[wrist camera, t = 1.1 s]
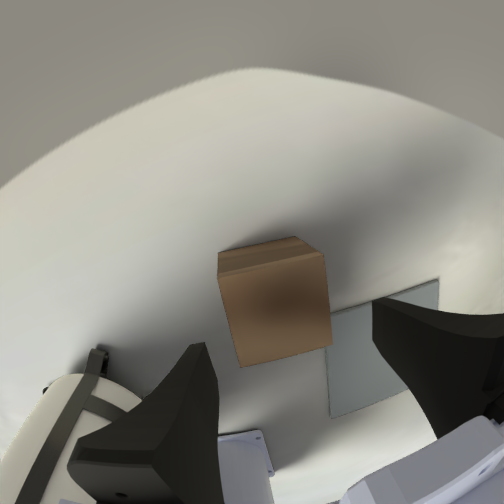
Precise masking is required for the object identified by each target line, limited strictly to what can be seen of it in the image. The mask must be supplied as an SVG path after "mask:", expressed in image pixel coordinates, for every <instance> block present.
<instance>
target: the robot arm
mask: <svg viewBox="0 0 504 504" xmlns="http://www.w3.org/2000/svg"><path fill="white" fill-rule="evenodd" d="M372 341H373V342H374V344H375V346H376V348H377V349H378V351H379V352H380V354H381V356H382V357H383V358H384V359H385V361H386V362H387V363H388V364H389V365H390V367H391V368H392V369H393V370H394V371H395V373H396V374H397V375H398V376H399V377H400V378H401V380H402V381H403V382H404V383H405V384H406V386H407V387H408V388H409V389H410V391H411V392H412V394H413V395H414V397H415V398H416V400H417V401H418V403H419V405H420V406H421V408H422V410H423V412H424V413H425V415H426V417H427V419H428V421H429V423H430V424H431V427H432V429H433V431H434V433H435V435H436V437H437V439H438V440H436V441H435V442H433V443H431V444H429V445H428V446H426V447H424V448H422V449H420V450H418V451H416V452H414V453H412V454H410V455H408V456H406V457H404V458H402V459H400V460H398V461H396V462H394V463H391V464H389V465H387V466H385V467H383V468H381V469H379V470H377V471H375V472H373V473H371V474H369V475H367V476H365V477H364V478H362V479H361V480H360V481H358V482H357V483H356V484H354V485H353V486H351V487H350V488H349V489H348V490H347V492H346V493H345V494H344V496H343V497H342V499H341V500H338V501H335V502H331V503H328V504H504V313H503V314H492V315H468V314H458V313H449V312H443V311H439V310H434V309H429V308H425V307H421V306H417V305H414V304H410V303H407V302H403V301H399V300H395V299H391V298H386V297H383V298H380V299H377V300H373V301H372ZM218 420H219V391H218V381H217V377H216V374H215V371H214V369H213V366H212V363H211V360H210V357H209V354H208V351H207V348H206V345H205V342H202V343H196V344H191V345H190V346H189V347H188V348H187V350H186V351H185V352H184V354H183V355H182V357H181V358H180V359H179V361H178V362H177V363H176V365H175V366H174V367H173V369H172V370H171V371H170V373H169V374H168V375H167V376H166V377H165V378H164V380H163V381H162V382H161V383H160V384H159V385H158V386H157V387H156V389H155V390H154V391H153V392H152V393H150V394H149V395H148V396H147V397H146V398H145V399H144V400H143V401H142V402H140V403H139V404H138V405H137V406H135V407H134V408H133V409H131V410H130V411H129V412H127V413H126V414H125V415H123V416H121V417H120V418H118V419H117V420H115V421H113V422H112V423H110V424H108V425H106V426H104V427H102V428H100V429H98V430H96V431H94V432H92V433H89V434H87V435H85V436H82V437H80V438H78V439H77V442H76V444H75V446H74V449H73V451H72V453H71V456H70V458H69V461H68V463H67V471H68V473H69V475H70V477H71V478H72V479H73V480H74V481H75V483H76V484H77V485H79V486H80V487H81V488H82V489H83V490H84V491H85V492H86V493H87V494H89V495H90V496H91V497H92V498H93V499H94V500H96V501H97V502H96V504H274V499H273V495H272V490H271V485H270V480H269V477H273V476H274V475H275V473H274V470H273V467H272V463H271V460H270V457H269V454H268V451H267V447H266V444H265V441H264V437H263V434H262V432H261V431H260V430H254V431H249V432H244V433H238V434H232V435H226V436H219V437H218ZM59 504H82V503H77V502H73V501H69V500H65V499H60V501H59Z"/></svg>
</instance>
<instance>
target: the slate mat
mask: <svg viewBox="0 0 504 504" xmlns="http://www.w3.org/2000/svg"><path fill="white" fill-rule="evenodd" d="M438 296H439V281H438V280H433V281H430V282H428V283H425V284H422V285H420V286H417V287H414V288H411V289H408V290H405V291H402V292H399V293H396V294H393V295H390V296H387V297H386V298H391V299H395V300H399V301H403V302H407V303H410V304H414V305H417V306H421V307H425V308H429V309H434V310H438ZM330 316H331V327H332V339H333V345H330V346H326V347H325V353H326V365H327V377H328V392H329V409H330V417H331V419H333V418H336V417H339V416H342V415H345V414H348V413H350V412H353V411H356V410H359V409H361V408H364V407H367V406H369V405H372V404H374V403H377V402H379V401H382V400H384V399H387V398H389V397H391V396H394V395H396V394H398V393H400V392H403V391H405V390H407V389H409V388H408V387H407V386H406V384H405V383H404V382H403V381H402V380H401V378H400V377H399V376H398V375H397V374H396V373H395V371H394V370H393V369H392V368H391V367H390V365H389V364H388V363H387V362H386V361H385V359H384V358H383V357H382V356H381V354H380V352H379V351H378V349H377V348H376V346H375V344H374V342H373V341H372V302H369V303H365V304H362V305H359V306H356V307H352V308H349V309H346V310H342V311H339V312H335V313H332V314H330Z"/></svg>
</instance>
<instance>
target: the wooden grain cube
mask: <svg viewBox="0 0 504 504" xmlns="http://www.w3.org/2000/svg"><path fill="white" fill-rule="evenodd" d="M217 279H218V283H219V288H220V292H221V296H222V300H223V304H224V308H225V312H226V315H227V319H228V323H229V327H230V331H231V335H232V338H233V342H234V346H235V350H236V353H237V357H238V361H239V364H240V368H242V367H247V366H251V365H256V364H260V363H265V362H269V361H273V360H278V359H282V358H286V357H290V356H294V355H297V354H301V353H305V352H309V351H312V350H316V349H319V348H323V347H326V346H330V345H333V339H332V327H331V316H330V306H329V296H328V287H327V279H326V271H325V263H324V255H323V254H322V253H320V252H319V251H317V250H315V249H314V248H312V247H311V246H309V245H308V244H306V243H305V242H303V241H302V240H300V239H299V238H297V237H295V236H294V237H289V238H285V239H280V240H275V241H271V242H266V243H261V244H257V245H252V246H247V247H243V248H238V249H233V250H229V251H224V252H220V253H218V270H217Z"/></svg>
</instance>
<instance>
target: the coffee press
mask: <svg viewBox="0 0 504 504" xmlns="http://www.w3.org/2000/svg"><path fill="white" fill-rule="evenodd" d="M108 360H109V356H108V352H106V351H102V350H97V349H91V351H90V353H89V357H88V362H87V366H86V369H85V373H84V374H69V375H65V376H62V377H60V378H58V379H57V380H55V381H54V382H53V383H52V384H51V385H50V386H49V387H46V388H44V389H43V396H42V397H41V399H40V400H39V401H38V403H37V404H36V406H35V407H34V409H33V410H32V412H31V413H30V414H29V416H28V417H27V419H26V420H25V422H24V423H23V425H22V427H21V428H20V430H19V431H18V433H17V434H16V436H15V437H14V439H13V441H12V442H11V444H10V445H9V447H8V449H7V450H6V452H5V454H4V455H3V457H2V459H1V460H0V504H59V501H60V499H65V500H69V501H73V502H77V503H82V504H96V502H97V501H96V500H94V499H93V498H92V497H91V496H90V495H89V494H87V493H86V492H85V491H84V490H83V489H82V488H81V487H80V486H79V485H77V484H76V483H75V481H74V480H73V479H72V478H71V477H70V475H69V473H68V471H67V463H68V461H69V458H70V456H71V453H72V451H73V449H74V446H75V444H76V442H77V439H78V438H80V437H82V436H85V435H87V434H89V433H92V432H94V431H96V430H98V429H100V428H102V427H104V426H106V425H108V424H110V423H112V422H113V421H115V420H117V419H118V418H120V417H121V416H123V415H125V414H126V413H127V412H129V411H130V410H131V409H133V408H134V407H135V406H137V405H138V404H139V403H140V402H142V400H141V399H140V398H139V397H137V396H136V395H135V394H133V393H132V392H131V391H129V390H127V389H126V388H124V387H122V386H121V385H119V384H117V383H115V382H112V381H110V380H107V367H108Z"/></svg>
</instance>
